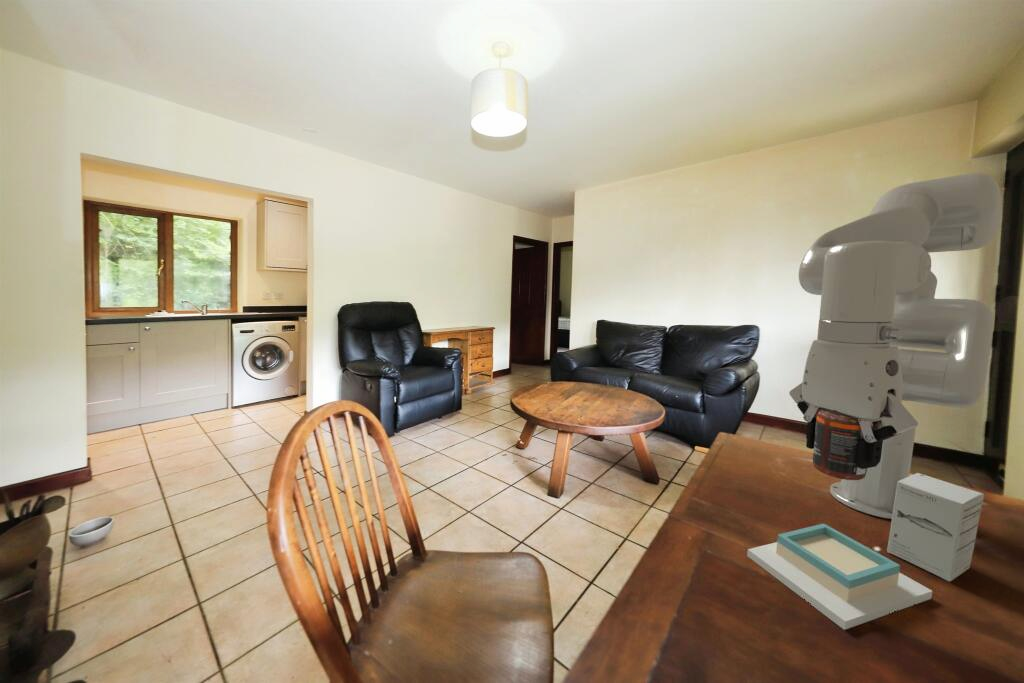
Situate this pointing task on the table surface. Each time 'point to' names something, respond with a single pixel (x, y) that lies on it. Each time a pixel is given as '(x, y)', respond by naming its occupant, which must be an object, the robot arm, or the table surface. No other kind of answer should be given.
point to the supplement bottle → (837, 445)
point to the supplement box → (935, 525)
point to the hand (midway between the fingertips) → (839, 455)
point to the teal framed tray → (838, 575)
